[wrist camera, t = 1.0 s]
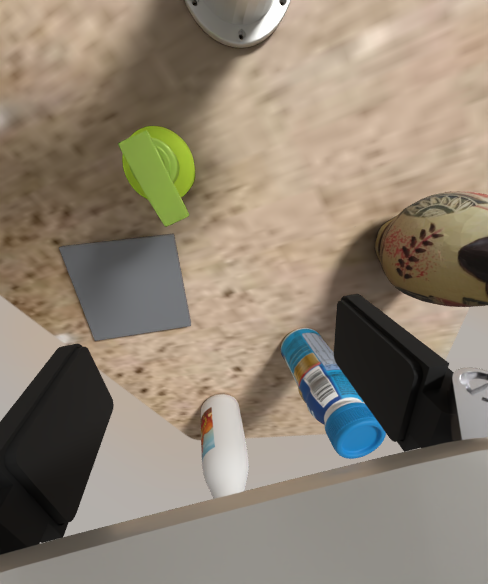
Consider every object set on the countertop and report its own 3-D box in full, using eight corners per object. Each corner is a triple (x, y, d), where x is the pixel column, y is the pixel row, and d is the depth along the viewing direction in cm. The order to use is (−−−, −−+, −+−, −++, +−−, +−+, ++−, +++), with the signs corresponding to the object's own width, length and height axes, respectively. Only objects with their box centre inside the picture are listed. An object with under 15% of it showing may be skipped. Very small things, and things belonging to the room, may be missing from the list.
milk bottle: (221, 386, 49) (236, 504, 31) (246, 405, 52) (272, 522, 34) (192, 408, 50) (190, 535, 32) (218, 425, 53) (229, 550, 35)
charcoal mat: (62, 245, 34) (58, 247, 34) (173, 233, 36) (173, 235, 35) (97, 337, 41) (95, 340, 40) (191, 322, 43) (190, 325, 42)
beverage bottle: (322, 322, 47) (400, 410, 29) (319, 358, 51) (387, 456, 33) (279, 329, 46) (332, 424, 28) (279, 365, 50) (326, 470, 32)
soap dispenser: (167, 210, 35) (137, 241, 17) (139, 157, 32) (66, 127, 14) (206, 192, 35) (216, 204, 17) (181, 138, 32) (163, 82, 14)
